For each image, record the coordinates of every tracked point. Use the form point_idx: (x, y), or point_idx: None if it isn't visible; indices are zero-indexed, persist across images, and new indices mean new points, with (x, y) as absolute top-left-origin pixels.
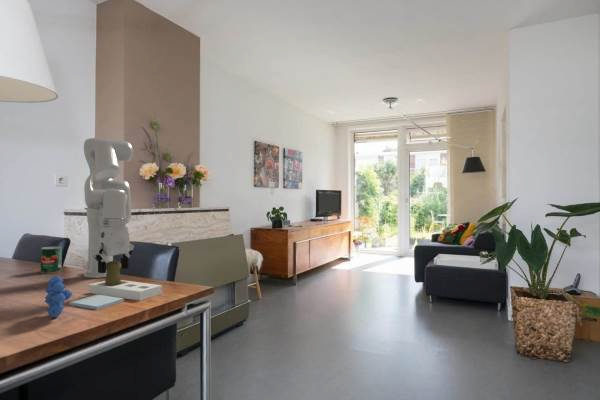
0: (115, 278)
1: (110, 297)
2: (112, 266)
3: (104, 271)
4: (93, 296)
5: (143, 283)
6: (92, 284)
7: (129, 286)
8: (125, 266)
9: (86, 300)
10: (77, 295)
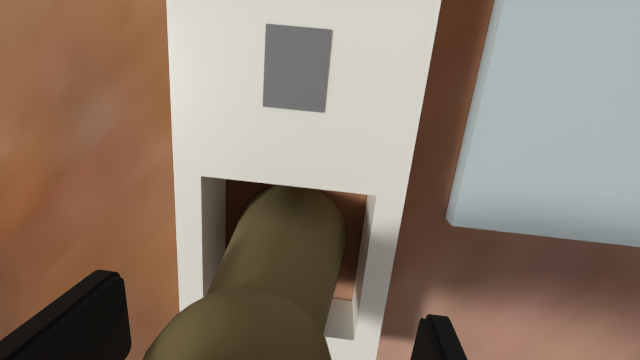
0: (300, 245)
1: (509, 77)
2: (314, 356)
3: (453, 328)
4: (506, 211)
5: (184, 15)
6: (367, 357)
7: (328, 54)
8: (105, 308)
9: (614, 177)
10: None
